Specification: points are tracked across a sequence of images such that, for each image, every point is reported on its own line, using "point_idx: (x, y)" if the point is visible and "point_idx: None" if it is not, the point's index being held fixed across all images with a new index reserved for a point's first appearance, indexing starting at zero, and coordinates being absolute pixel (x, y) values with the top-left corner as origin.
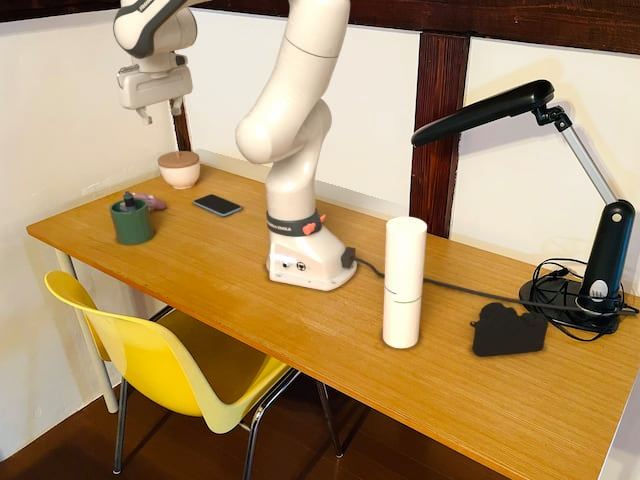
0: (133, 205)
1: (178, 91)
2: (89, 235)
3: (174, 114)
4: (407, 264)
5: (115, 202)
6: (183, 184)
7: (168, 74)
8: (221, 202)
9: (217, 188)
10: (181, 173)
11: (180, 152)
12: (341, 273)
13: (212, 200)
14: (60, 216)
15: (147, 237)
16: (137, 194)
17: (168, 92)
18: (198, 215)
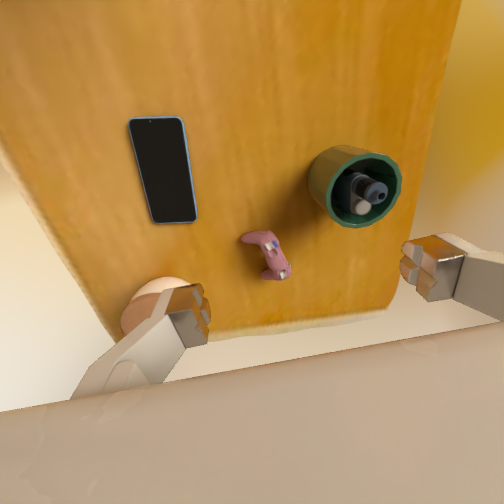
0: (365, 178)
1: (68, 467)
2: (371, 233)
3: (203, 301)
4: None
5: (365, 226)
6: (181, 279)
7: None
8: (156, 173)
9: (131, 243)
10: None
11: None
12: None
13: (166, 196)
14: (352, 307)
15: (338, 146)
16: (282, 266)
17: (272, 469)
18: (216, 168)
